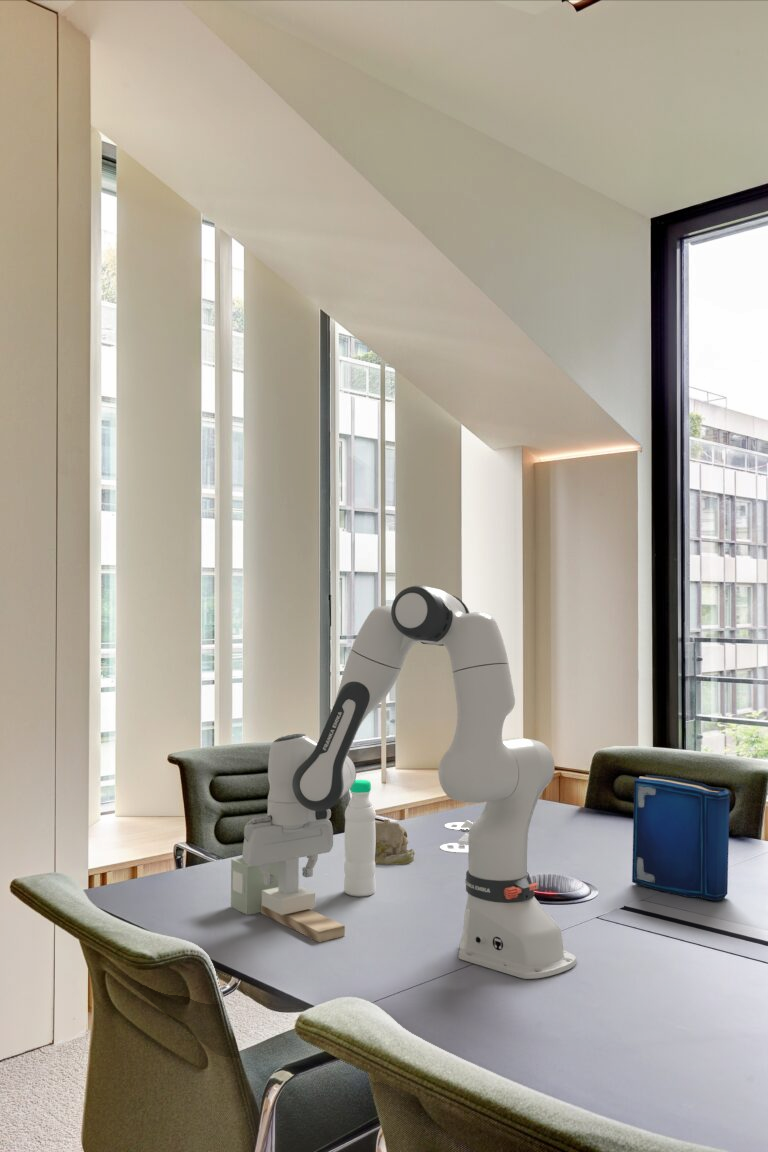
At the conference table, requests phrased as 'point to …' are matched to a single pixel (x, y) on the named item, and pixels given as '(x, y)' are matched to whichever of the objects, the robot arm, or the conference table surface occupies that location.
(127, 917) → the conference table surface
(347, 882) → the water bottle
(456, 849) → the cable organizer
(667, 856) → the book
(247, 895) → the end cabinet
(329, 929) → the block
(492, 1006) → the conference table surface
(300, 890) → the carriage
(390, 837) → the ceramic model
